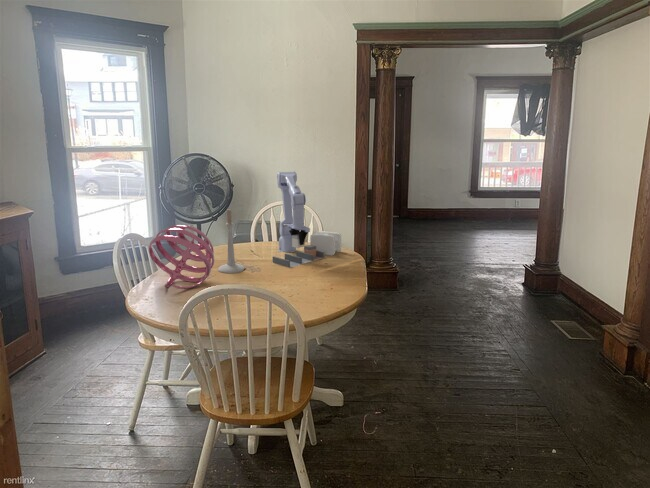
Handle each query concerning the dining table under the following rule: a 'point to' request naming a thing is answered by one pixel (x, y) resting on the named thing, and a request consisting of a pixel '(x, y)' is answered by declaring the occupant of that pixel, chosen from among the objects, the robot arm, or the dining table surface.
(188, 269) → the spiral basket
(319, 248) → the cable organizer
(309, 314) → the dining table surface
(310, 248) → the brown and grey box
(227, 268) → the candlestick
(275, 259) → the grey tiered rack
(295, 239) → the grey rectangular block
